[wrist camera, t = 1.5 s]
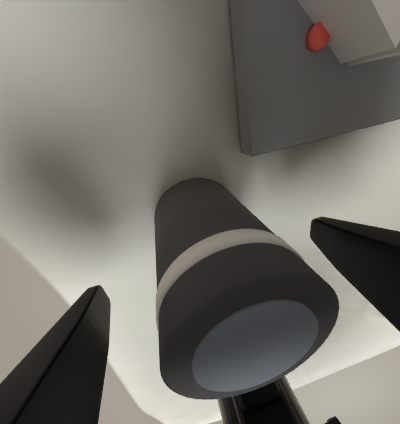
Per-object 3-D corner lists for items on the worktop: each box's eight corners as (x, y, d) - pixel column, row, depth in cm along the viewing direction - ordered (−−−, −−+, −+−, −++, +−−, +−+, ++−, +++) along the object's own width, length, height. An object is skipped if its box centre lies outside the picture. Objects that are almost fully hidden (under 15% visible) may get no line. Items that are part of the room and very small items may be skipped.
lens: (238, 239, 12) (332, 366, 6) (166, 261, 12) (185, 426, 5) (230, 167, 10) (364, 247, 4) (141, 190, 9) (123, 329, 3)
